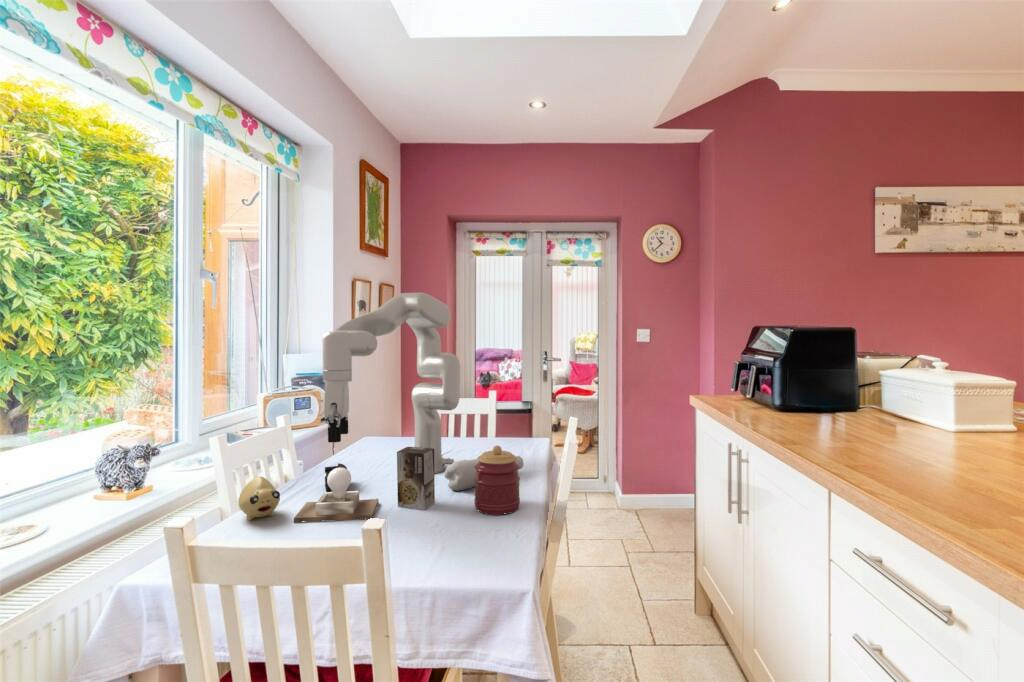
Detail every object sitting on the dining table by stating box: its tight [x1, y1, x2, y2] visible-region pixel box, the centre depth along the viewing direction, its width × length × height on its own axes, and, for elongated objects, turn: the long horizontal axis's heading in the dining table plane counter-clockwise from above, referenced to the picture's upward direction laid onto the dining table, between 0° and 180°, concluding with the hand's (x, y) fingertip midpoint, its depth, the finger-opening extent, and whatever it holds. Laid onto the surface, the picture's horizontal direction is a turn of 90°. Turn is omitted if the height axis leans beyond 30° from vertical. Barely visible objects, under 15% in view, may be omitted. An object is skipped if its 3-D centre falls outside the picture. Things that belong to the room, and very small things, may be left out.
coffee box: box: [396, 446, 436, 511], centre depth 140 cm, size 9×6×16 cm
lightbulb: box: [327, 467, 352, 502], centre depth 135 cm, size 6×6×11 cm
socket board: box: [293, 490, 380, 523], centre depth 135 cm, size 20×12×4 cm, turn 98°
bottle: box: [444, 455, 524, 492], centre depth 163 cm, size 9×9×30 cm
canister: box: [473, 445, 521, 515], centre depth 138 cm, size 13×13×18 cm
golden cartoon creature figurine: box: [238, 476, 281, 521], centre depth 131 cm, size 10×12×11 cm
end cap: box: [324, 463, 348, 492], centre depth 156 cm, size 10×7×7 cm
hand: (338, 437), depth 135 cm, fingers open, 9 cm apart
